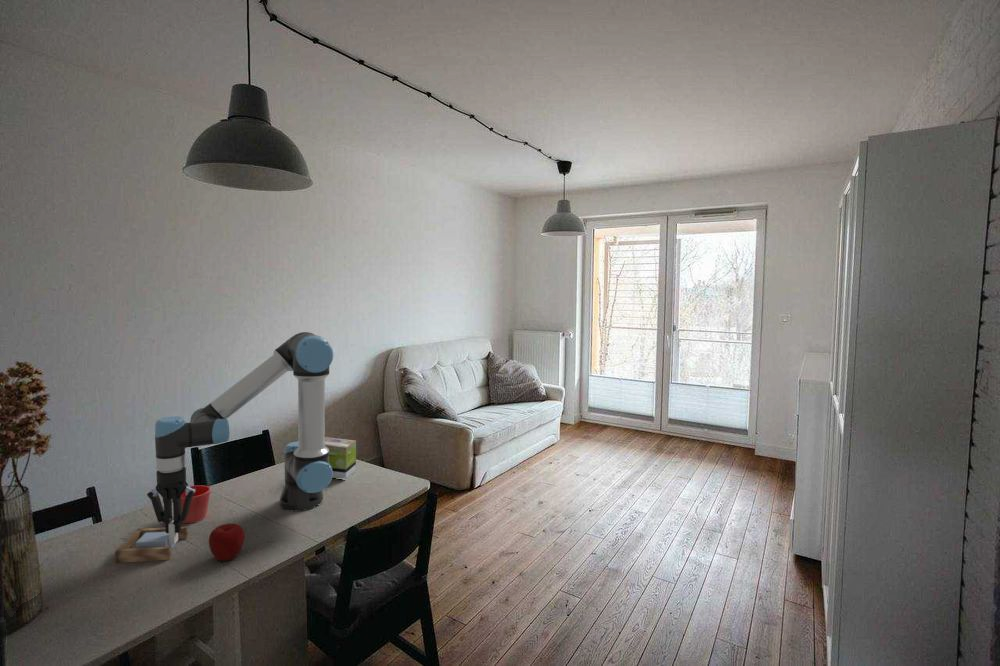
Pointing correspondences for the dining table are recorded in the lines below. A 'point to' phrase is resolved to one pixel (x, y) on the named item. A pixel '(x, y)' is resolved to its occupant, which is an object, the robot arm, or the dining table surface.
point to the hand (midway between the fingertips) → (173, 542)
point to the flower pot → (197, 503)
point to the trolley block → (154, 540)
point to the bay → (133, 554)
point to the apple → (226, 541)
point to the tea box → (341, 456)
